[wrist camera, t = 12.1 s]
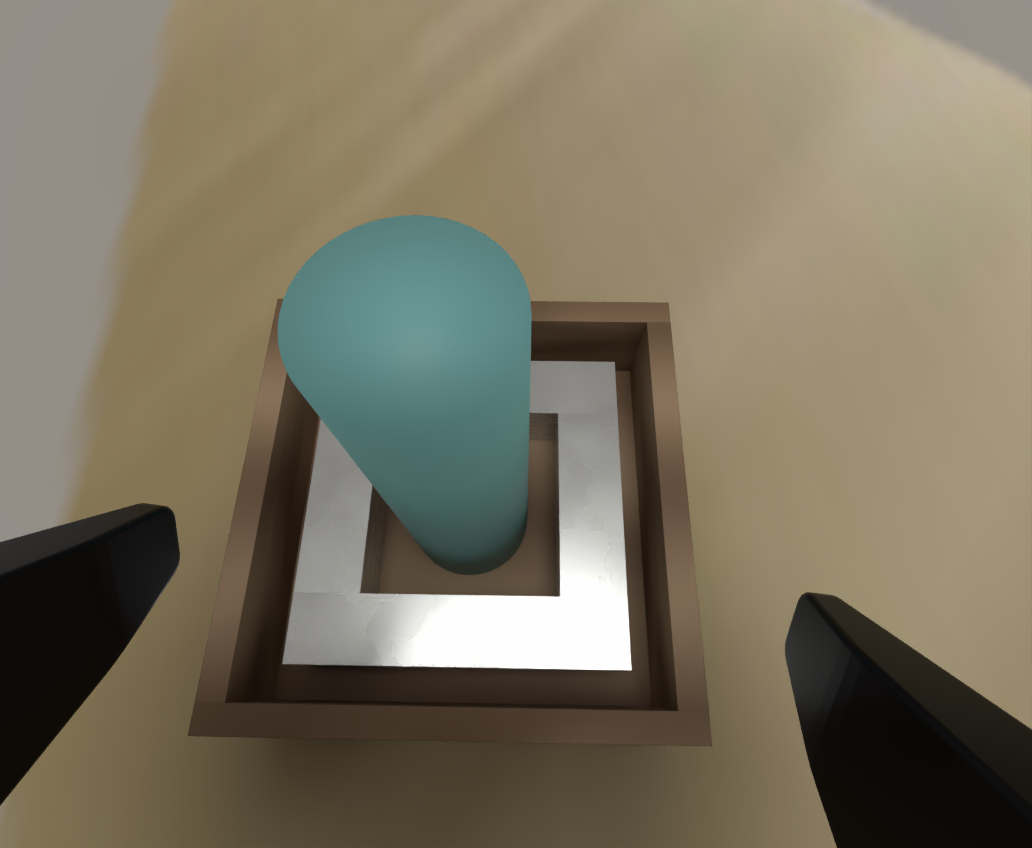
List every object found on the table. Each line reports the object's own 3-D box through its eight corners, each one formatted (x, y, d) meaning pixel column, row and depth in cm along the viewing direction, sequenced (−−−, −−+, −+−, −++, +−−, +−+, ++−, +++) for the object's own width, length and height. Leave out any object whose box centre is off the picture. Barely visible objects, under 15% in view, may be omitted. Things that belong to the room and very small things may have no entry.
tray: (671, 733, 20) (712, 746, 16) (257, 724, 20) (187, 736, 16) (643, 365, 25) (668, 302, 21) (317, 361, 25) (277, 298, 21)
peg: (527, 575, 21) (531, 433, 9) (410, 574, 21) (255, 430, 9) (527, 465, 22) (531, 215, 10) (419, 464, 22) (299, 214, 10)
